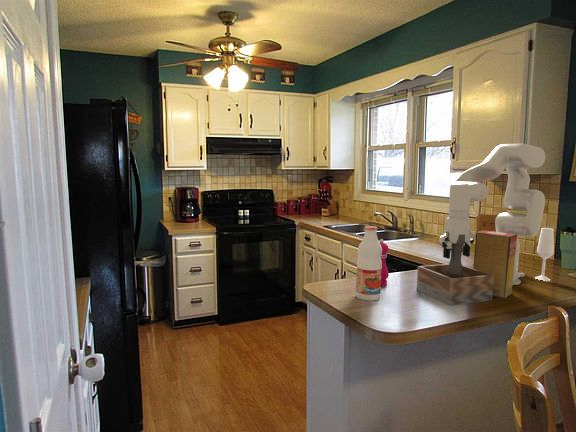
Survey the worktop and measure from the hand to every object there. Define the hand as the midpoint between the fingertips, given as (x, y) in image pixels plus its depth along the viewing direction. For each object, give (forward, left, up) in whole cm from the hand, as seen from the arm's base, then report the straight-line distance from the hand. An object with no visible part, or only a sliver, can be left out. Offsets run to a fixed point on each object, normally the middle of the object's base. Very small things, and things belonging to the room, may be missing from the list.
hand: (456, 256), depth 160 cm
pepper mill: (+22, -21, -16) cm, 34 cm away
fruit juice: (+36, -7, -16) cm, 39 cm away
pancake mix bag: (-51, -30, -16) cm, 62 cm away
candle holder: (0, 0, -16) cm, 16 cm away
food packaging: (-17, +2, -16) cm, 24 cm away
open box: (+1, 0, -16) cm, 16 cm away
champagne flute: (-57, -7, -16) cm, 60 cm away
